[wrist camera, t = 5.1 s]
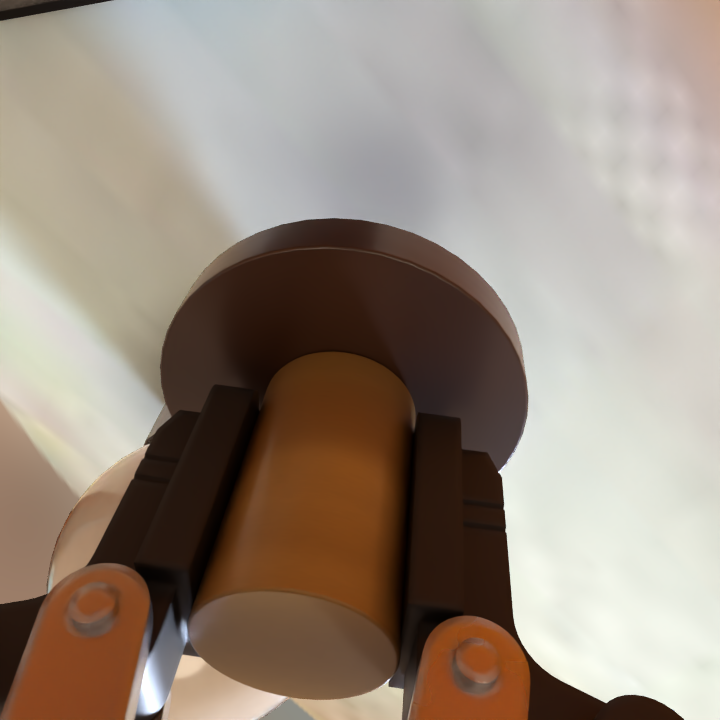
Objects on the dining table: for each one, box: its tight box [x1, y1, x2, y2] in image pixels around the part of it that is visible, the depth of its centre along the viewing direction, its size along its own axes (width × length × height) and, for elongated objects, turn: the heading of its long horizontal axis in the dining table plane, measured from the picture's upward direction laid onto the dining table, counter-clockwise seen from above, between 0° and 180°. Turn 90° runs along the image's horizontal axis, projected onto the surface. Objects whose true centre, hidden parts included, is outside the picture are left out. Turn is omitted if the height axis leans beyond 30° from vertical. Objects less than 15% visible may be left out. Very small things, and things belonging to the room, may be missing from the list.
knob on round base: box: [160, 218, 528, 700], centre depth 10 cm, size 7×7×6 cm
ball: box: [47, 444, 290, 720], centre depth 20 cm, size 9×9×9 cm
